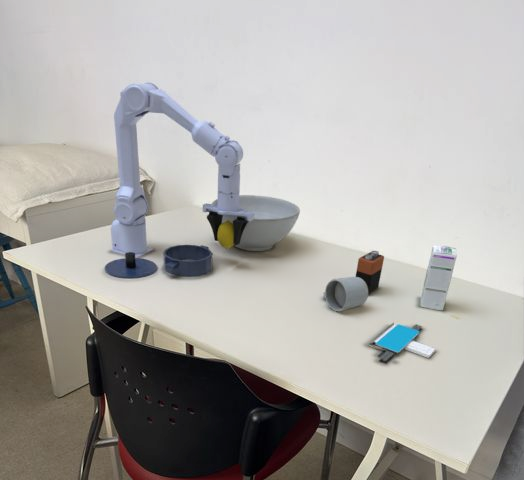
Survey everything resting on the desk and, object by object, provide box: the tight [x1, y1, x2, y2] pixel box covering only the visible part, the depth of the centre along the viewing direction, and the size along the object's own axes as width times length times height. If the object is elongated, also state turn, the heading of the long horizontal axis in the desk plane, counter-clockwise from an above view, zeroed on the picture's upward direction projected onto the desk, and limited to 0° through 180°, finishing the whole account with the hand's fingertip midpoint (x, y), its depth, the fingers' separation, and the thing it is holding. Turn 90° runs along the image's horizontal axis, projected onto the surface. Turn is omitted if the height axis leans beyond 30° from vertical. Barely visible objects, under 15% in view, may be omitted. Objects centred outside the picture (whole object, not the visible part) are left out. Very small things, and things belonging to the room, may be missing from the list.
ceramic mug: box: [322, 276, 369, 312], centre depth 121 cm, size 11×8×8 cm
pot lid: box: [104, 252, 158, 279], centre depth 131 cm, size 13×13×5 cm
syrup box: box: [419, 244, 458, 311], centre depth 122 cm, size 6×6×14 cm
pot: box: [162, 244, 213, 278], centre depth 134 cm, size 13×18×5 cm
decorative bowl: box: [211, 194, 301, 252], centre depth 154 cm, size 27×27×12 cm
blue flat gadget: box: [367, 322, 436, 364], centre depth 106 cm, size 20×12×2 cm, turn 143°
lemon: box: [217, 220, 235, 250], centre depth 136 cm, size 6×6×8 cm
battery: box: [355, 250, 385, 295], centre depth 129 cm, size 4×7×10 cm, turn 143°
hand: (227, 242), depth 137 cm, fingers closed on lemon, 5 cm apart
